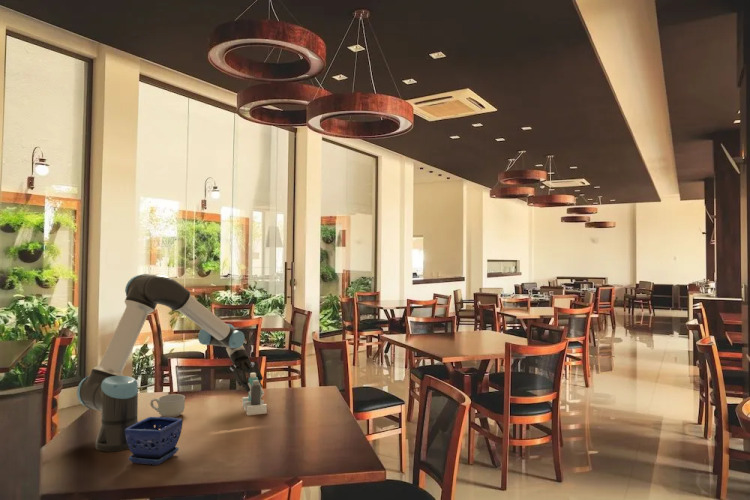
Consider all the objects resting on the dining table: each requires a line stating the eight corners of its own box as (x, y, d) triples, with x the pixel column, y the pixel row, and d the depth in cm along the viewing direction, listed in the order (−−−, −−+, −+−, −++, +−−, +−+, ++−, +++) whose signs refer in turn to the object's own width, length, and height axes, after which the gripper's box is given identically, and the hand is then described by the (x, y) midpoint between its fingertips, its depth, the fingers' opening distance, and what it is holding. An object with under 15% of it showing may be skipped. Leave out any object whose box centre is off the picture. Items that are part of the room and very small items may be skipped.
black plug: (261, 412, 222) (261, 381, 221) (251, 413, 220) (251, 382, 220) (259, 409, 225) (259, 379, 225) (250, 410, 224) (250, 380, 224)
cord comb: (266, 415, 220) (266, 404, 220) (247, 417, 217) (247, 406, 217) (260, 405, 235) (260, 395, 235) (242, 407, 232) (242, 397, 232)
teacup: (189, 412, 225) (189, 394, 225) (177, 420, 214) (177, 400, 214) (158, 412, 226) (158, 393, 227) (145, 419, 216) (145, 400, 216)
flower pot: (160, 468, 164) (160, 430, 164) (123, 465, 166) (123, 427, 166) (183, 453, 177) (184, 418, 177) (149, 450, 179) (149, 416, 179)
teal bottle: (258, 403, 229) (258, 373, 229) (249, 404, 227) (249, 374, 227) (256, 401, 232) (256, 372, 233) (247, 402, 231) (247, 372, 231)
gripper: (250, 356, 247) (270, 397, 235) (217, 361, 235) (237, 404, 223) (256, 346, 243) (277, 387, 232) (223, 350, 231) (244, 394, 219)
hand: (258, 395), depth 227 cm, fingers closed on teal bottle, 4 cm apart
